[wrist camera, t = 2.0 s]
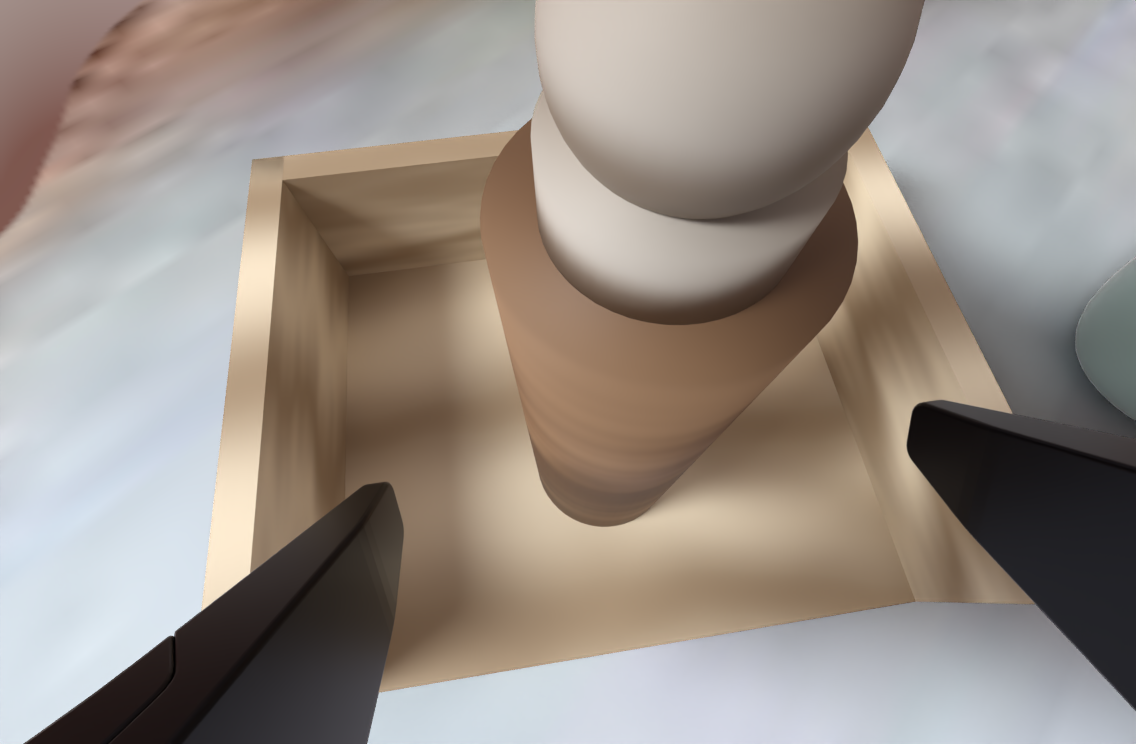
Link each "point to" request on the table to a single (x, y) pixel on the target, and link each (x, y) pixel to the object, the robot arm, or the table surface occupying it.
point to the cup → (1111, 340)
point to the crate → (503, 447)
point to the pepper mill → (676, 222)
